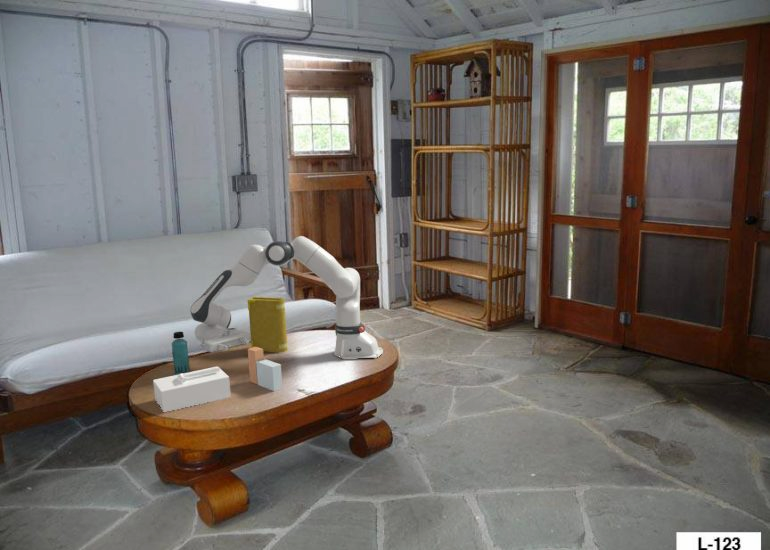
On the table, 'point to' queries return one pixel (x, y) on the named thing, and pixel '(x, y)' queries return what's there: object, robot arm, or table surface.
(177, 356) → the beverage bottle
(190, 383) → the tissue box
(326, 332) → the table surface
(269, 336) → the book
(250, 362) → the block
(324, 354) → the table surface
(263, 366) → the pale gray chunky brick
